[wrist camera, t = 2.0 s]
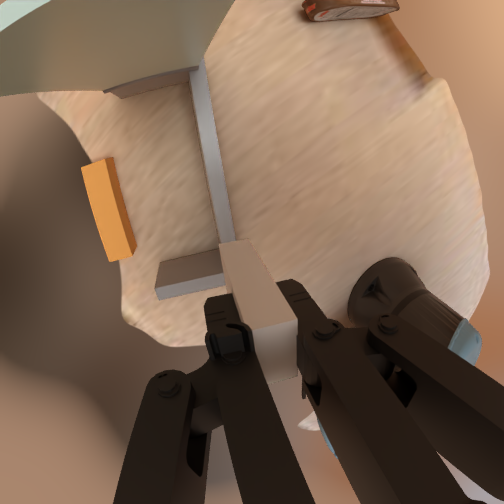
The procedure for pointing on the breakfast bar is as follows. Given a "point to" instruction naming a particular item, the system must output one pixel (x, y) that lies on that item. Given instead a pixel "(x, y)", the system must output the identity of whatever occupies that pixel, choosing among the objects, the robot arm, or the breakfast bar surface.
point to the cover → (101, 42)
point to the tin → (347, 9)
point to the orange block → (109, 209)
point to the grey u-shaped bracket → (208, 263)
